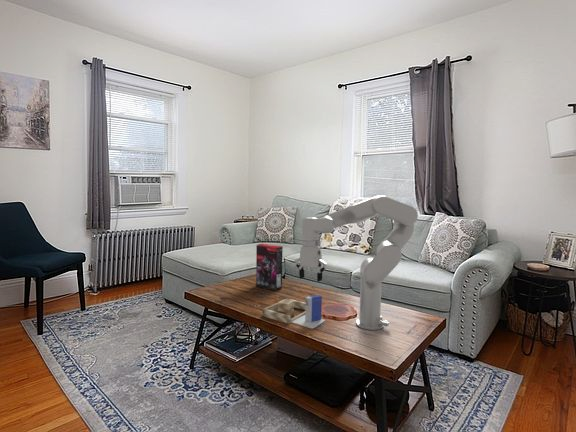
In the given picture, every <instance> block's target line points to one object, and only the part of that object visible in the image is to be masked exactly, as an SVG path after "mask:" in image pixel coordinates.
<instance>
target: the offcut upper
mask: <svg viewBox="0 0 576 432" xmlns="http://www.w3.org/2000/svg"><path fill="white" fill-rule="evenodd" d="M278 302H279V303H278ZM278 302H277V303H278V311H281V312H287V313H289V312H290V311H291V310H293V309H294V307H293V301H291V300H285V298H284V299H282V300H280V301H278Z"/></svg>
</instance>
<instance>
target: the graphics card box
mask: <svg viewBox="0 0 576 432" xmlns="http://www.w3.org/2000/svg"><path fill="white" fill-rule="evenodd" d="M283 249H284V247H283V246H282V245H275V244H268V243H259V244H257V245H256V254H255V255H256V259H255V261H256V264H255V265H256V266H255V267H256V271H255V272H256V274H255V275H256V276H255V280H256V281H255V286H256V287H259V288H264V289H267V290H273V291H279V290H281V289H283Z"/></svg>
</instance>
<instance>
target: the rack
mask: <svg viewBox="0 0 576 432" xmlns="http://www.w3.org/2000/svg"><path fill="white" fill-rule="evenodd" d="M284 300H291V301H293V308H296V309H298V310H303V312H301V313H299V314H297V315H294V317H293V318H291V316H290V315H286V314H282V313H279V312H277V310H278V303H279V302H280V301H278V302H276V303H274V304H272V305H268V306H267V307H265V308H262V317H263V318H264V317H265V318H267V319H271V320H275V321H279V322H282V323H284V324H285V323H286V324H292V323H291V322H292V321H294V320H296V319H298V318H299V317H301V316H303V315H305V309H306V302H304V301H300V300H295V299H292V298H284Z"/></svg>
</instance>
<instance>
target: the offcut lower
mask: <svg viewBox="0 0 576 432" xmlns="http://www.w3.org/2000/svg"><path fill="white" fill-rule="evenodd" d="M276 312H279V313H282V314H286V315H290V316H291V318H293V317H295V309H294V308H293V310H291V311H290V312H289V313H287V312H281V311H278V310H277V311H276Z"/></svg>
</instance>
